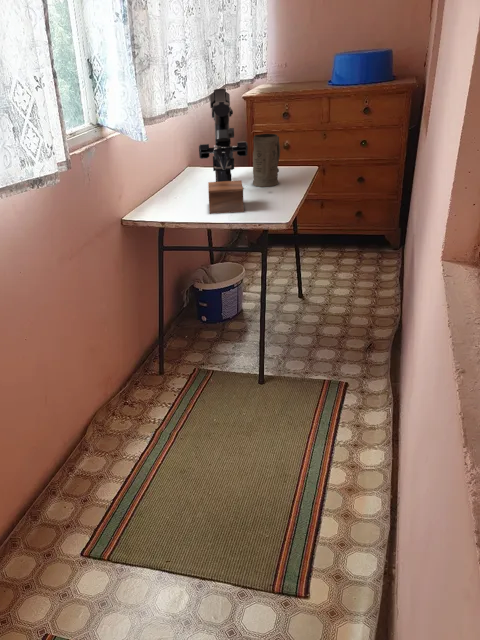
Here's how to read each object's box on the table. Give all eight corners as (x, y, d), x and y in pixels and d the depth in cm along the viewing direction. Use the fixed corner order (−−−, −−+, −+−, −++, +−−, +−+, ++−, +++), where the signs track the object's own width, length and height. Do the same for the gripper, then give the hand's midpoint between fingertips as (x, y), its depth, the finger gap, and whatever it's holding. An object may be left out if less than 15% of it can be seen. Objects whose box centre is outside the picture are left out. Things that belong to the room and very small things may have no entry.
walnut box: (243, 211, 224) (243, 190, 220) (209, 213, 224) (208, 192, 220) (241, 202, 234) (241, 182, 230) (209, 204, 235) (208, 184, 231)
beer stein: (270, 188, 251) (272, 136, 242) (247, 186, 256) (248, 135, 247) (286, 182, 262) (288, 132, 253) (263, 180, 267) (265, 131, 258)
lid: (243, 190, 219) (243, 188, 219) (208, 192, 220) (208, 190, 219) (241, 182, 230) (241, 180, 230) (208, 184, 231) (208, 182, 231)
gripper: (197, 122, 229) (199, 158, 225) (247, 118, 228) (249, 155, 224) (198, 140, 239) (200, 175, 236) (246, 137, 238) (248, 172, 235)
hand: (224, 169), depth 232 cm, fingers closed
